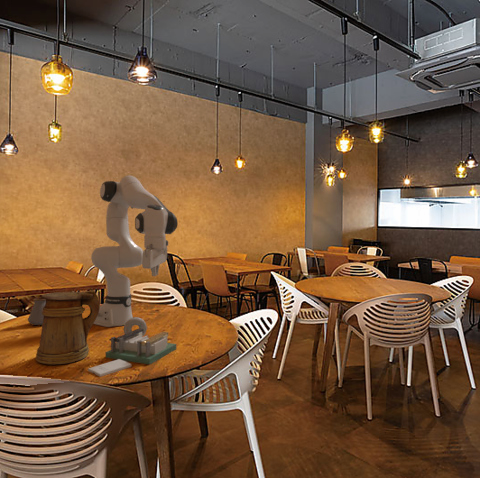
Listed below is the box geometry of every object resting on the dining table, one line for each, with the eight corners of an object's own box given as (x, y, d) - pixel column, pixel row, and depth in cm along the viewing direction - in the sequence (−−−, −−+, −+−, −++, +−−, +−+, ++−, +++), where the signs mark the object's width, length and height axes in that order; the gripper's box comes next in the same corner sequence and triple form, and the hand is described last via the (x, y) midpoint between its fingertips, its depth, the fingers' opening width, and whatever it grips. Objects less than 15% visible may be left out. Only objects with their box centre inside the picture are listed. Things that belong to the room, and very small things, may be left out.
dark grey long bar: (113, 343, 157) (113, 338, 157) (138, 332, 172) (138, 327, 172) (118, 344, 156) (118, 339, 156) (143, 333, 171) (143, 328, 171)
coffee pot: (30, 328, 197) (29, 297, 196) (26, 323, 206) (25, 293, 206) (76, 321, 210) (75, 292, 209) (70, 317, 219) (70, 289, 218)
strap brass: (139, 347, 153) (139, 341, 152) (163, 335, 167) (163, 330, 167) (145, 348, 152) (145, 342, 152) (168, 336, 167) (168, 331, 166)
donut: (124, 342, 176) (124, 319, 175) (123, 340, 179) (122, 317, 178) (147, 339, 180) (147, 317, 180) (145, 337, 183) (145, 315, 183)
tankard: (31, 355, 159) (29, 292, 157) (92, 344, 173) (91, 285, 171) (41, 369, 144) (40, 299, 143) (107, 356, 159) (106, 292, 157)
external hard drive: (131, 368, 148) (100, 378, 138) (118, 362, 153) (87, 372, 144) (131, 363, 148) (100, 373, 138) (118, 358, 153) (87, 367, 144)
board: (105, 357, 157) (105, 338, 157) (135, 343, 175) (135, 325, 174) (149, 364, 150) (149, 344, 149) (176, 348, 167) (176, 330, 167)
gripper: (153, 246, 163) (153, 280, 164) (169, 241, 183) (169, 271, 184) (138, 245, 164) (138, 279, 165) (156, 240, 184) (156, 271, 185)
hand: (155, 275), depth 175 cm, fingers closed
